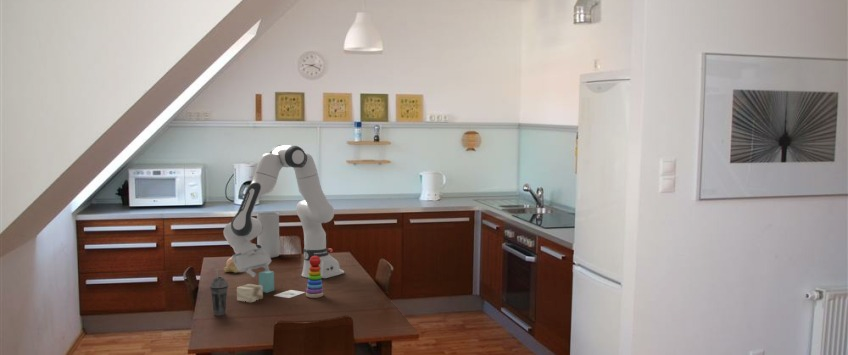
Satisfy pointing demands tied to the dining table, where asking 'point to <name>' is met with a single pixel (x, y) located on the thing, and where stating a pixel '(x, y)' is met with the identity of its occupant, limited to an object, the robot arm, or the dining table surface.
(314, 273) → the stacking toy
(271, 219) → the cylinder vase
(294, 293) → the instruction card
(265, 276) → the teal brick
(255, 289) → the base block
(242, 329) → the dining table surface
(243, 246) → the robot arm
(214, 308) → the beverage cup
